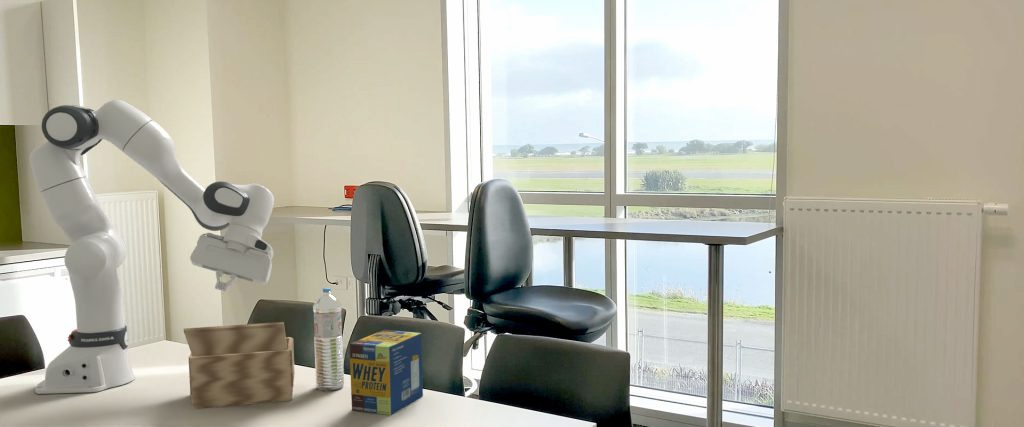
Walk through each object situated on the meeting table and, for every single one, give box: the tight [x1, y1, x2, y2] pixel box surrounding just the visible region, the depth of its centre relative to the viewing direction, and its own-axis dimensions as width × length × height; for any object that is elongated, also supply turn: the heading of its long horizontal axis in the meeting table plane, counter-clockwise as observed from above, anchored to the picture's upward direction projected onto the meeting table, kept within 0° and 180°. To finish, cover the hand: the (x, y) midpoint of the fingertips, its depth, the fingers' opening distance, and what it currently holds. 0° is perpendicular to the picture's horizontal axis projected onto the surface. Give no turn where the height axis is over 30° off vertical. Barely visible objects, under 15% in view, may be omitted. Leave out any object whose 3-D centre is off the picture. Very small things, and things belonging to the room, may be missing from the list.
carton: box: [188, 336, 296, 410], centre depth 189 cm, size 23×14×12 cm, turn 104°
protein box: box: [349, 329, 424, 416], centre depth 181 cm, size 10×15×16 cm
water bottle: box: [312, 287, 345, 392], centre depth 194 cm, size 7×7×25 cm
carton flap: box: [182, 321, 287, 357], centre depth 177 cm, size 21×13×1 cm
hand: (220, 289), depth 201 cm, fingers closed
